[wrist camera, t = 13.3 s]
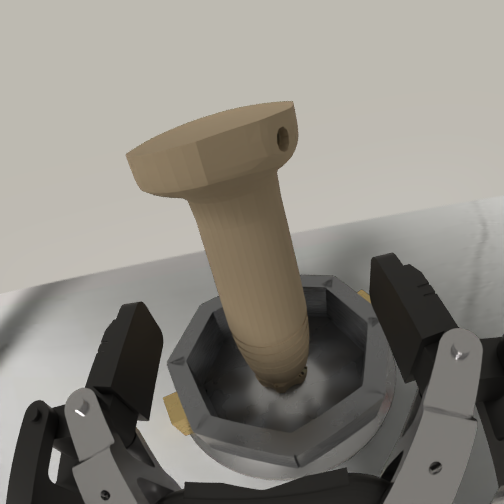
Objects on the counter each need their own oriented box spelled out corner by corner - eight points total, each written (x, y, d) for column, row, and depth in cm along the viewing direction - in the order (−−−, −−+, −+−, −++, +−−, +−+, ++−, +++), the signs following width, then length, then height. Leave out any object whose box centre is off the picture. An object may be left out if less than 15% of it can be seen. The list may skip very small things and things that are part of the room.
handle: (337, 346, 18) (317, 98, 10) (291, 428, 14) (204, 146, 6) (275, 327, 21) (220, 110, 12) (225, 397, 17) (102, 162, 8)
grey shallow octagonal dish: (230, 520, 10) (207, 518, 8) (158, 353, 21) (137, 324, 19) (438, 381, 14) (456, 349, 12) (313, 275, 25) (309, 241, 23)
